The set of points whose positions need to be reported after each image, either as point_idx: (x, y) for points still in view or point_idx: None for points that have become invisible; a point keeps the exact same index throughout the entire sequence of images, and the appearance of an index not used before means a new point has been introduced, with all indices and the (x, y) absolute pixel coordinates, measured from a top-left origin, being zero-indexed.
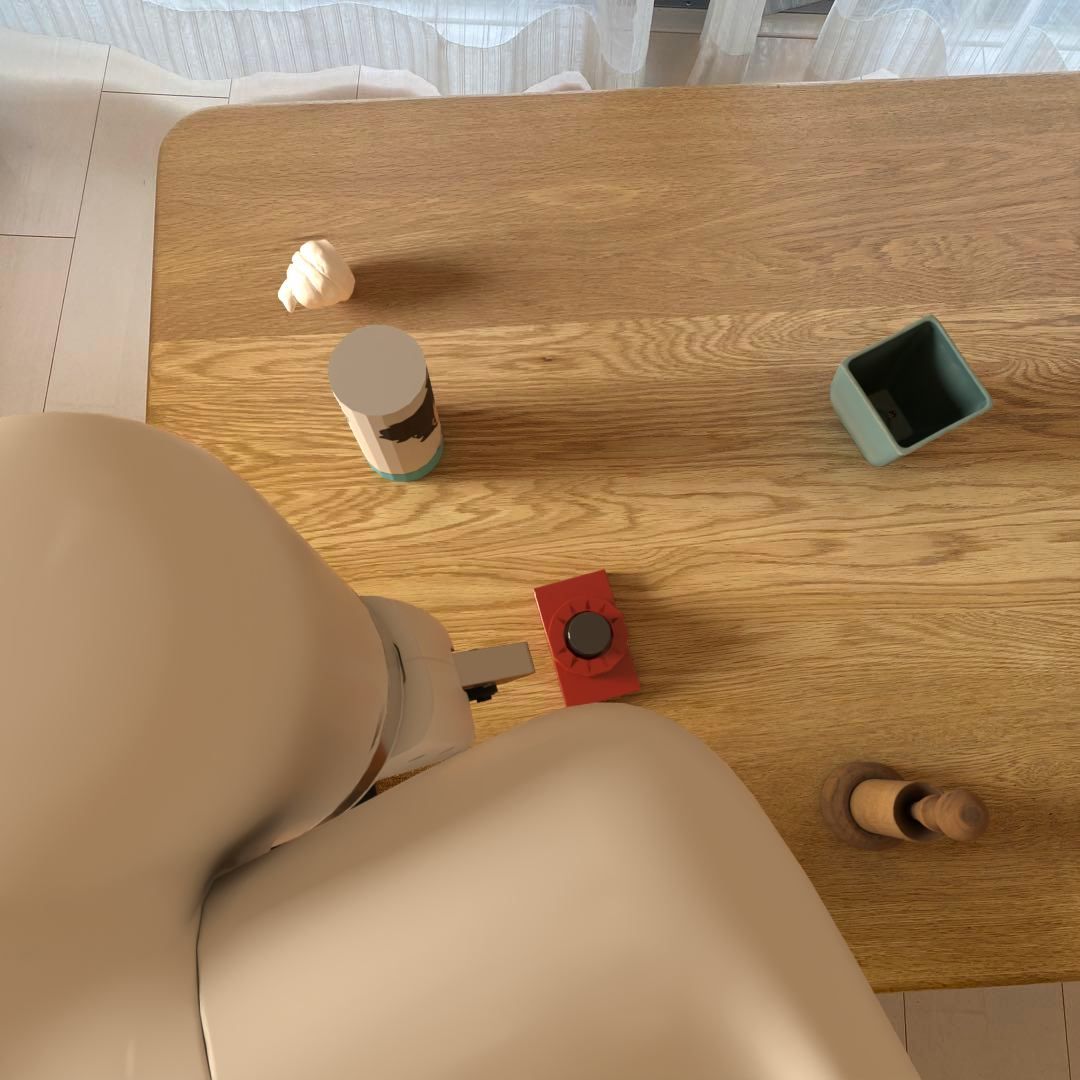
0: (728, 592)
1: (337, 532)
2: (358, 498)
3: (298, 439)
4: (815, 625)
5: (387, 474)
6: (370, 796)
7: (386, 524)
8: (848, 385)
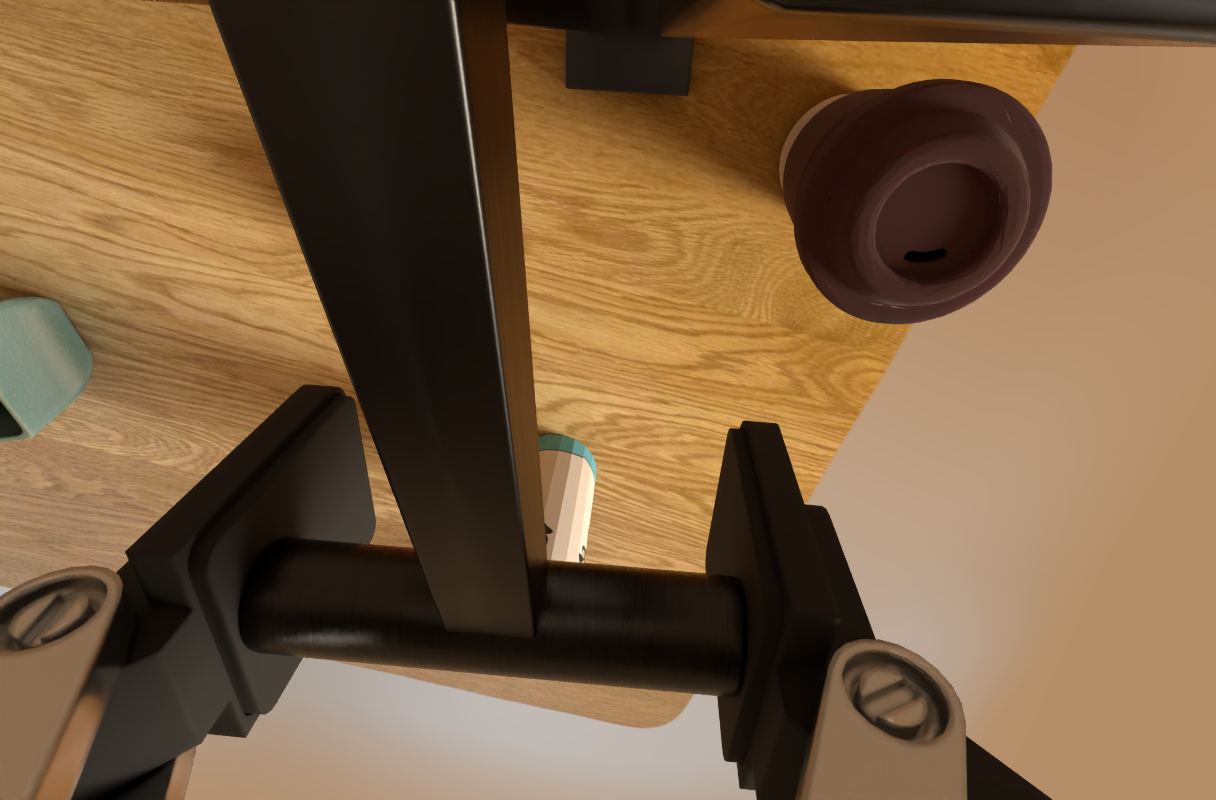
0: (227, 209)
1: (647, 412)
2: (615, 435)
3: (654, 501)
4: (117, 131)
5: (577, 452)
6: (414, 477)
7: (595, 404)
8: (27, 408)
